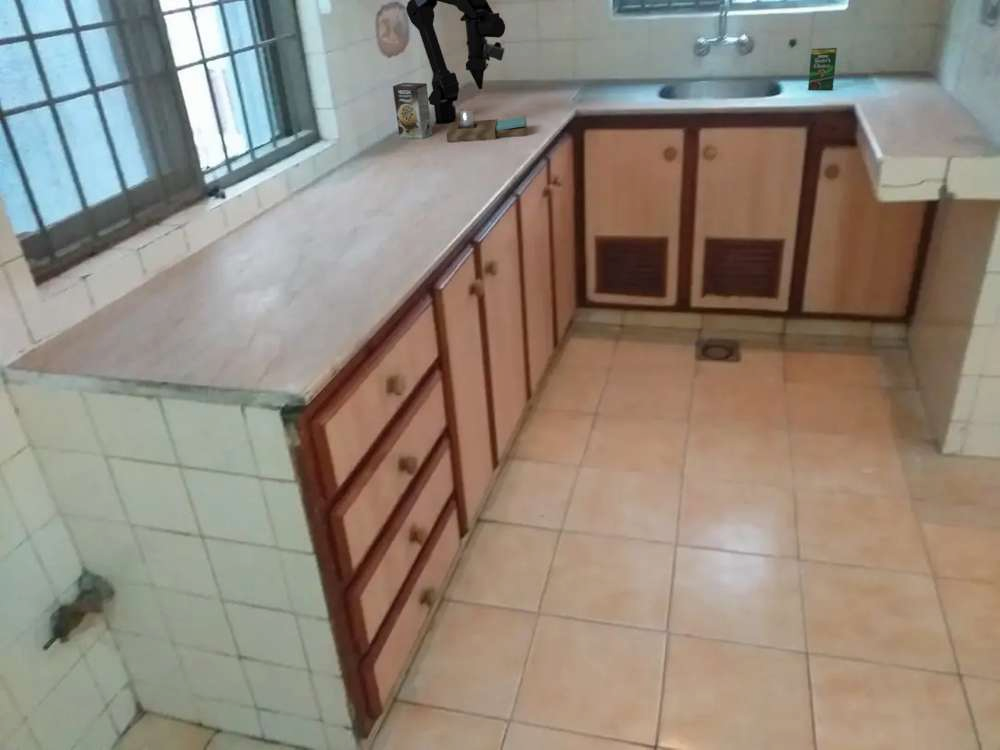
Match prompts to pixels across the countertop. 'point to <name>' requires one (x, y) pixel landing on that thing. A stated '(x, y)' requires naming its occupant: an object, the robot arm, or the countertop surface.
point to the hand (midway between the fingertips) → (480, 88)
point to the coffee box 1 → (412, 110)
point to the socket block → (481, 131)
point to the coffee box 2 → (822, 69)
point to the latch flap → (511, 123)
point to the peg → (467, 118)
